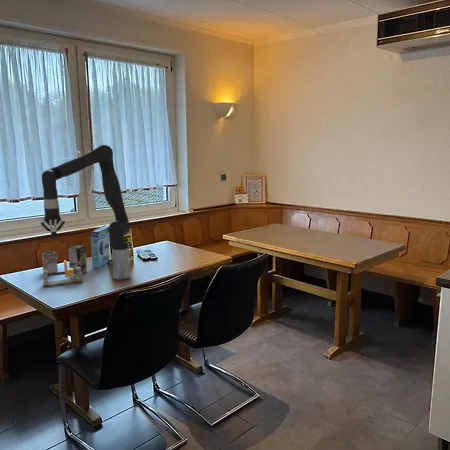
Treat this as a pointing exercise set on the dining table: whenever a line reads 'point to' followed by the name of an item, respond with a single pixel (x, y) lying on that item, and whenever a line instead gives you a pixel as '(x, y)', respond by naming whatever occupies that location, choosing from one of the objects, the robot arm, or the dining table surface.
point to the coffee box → (77, 257)
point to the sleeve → (68, 270)
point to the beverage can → (50, 262)
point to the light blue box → (100, 246)
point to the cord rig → (62, 282)
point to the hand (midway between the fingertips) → (54, 238)
